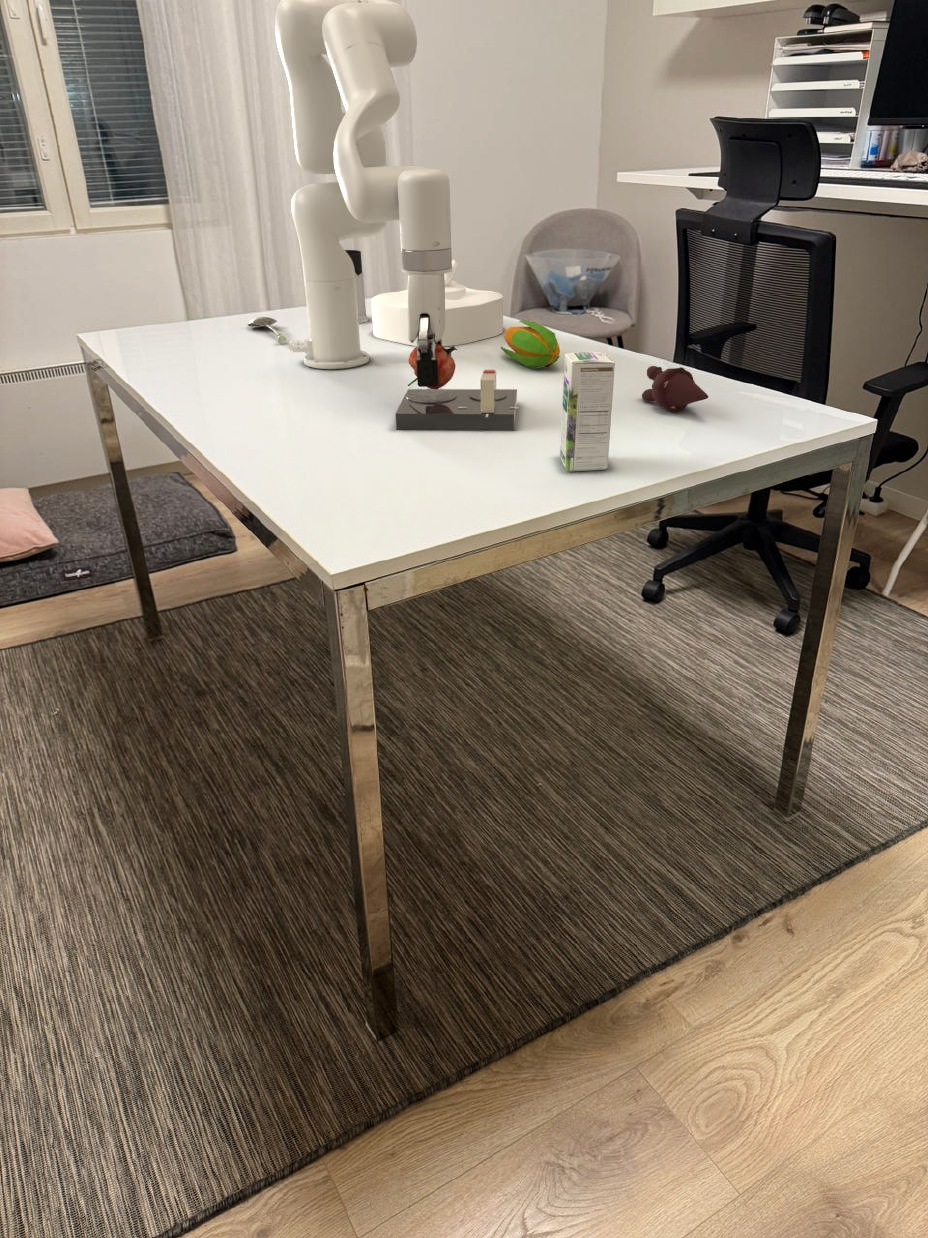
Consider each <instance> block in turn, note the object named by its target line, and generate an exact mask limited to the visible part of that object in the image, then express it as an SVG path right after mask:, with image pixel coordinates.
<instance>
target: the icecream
mask: <svg viewBox="0 0 928 1238" xmlns="http://www.w3.org/2000/svg"><path fill="white" fill-rule="evenodd" d="M646 377H647V378H648V379H649V380H652V381H653V382H652V384H651V388H647V389H645V390H644V391H643V392H642V394H641V399H642V400H643V402H646V403H654V402H656V403H657V405H658V406H659V407H660V408H662V409H664V410H667V411H669V412H671V413H676V412H681V411H684V410H685V409H686V408H687V407H688V405H691V404H693V403H697V402H700V401H705V400H707V399H709V395H708V394H707V393H706V392H705V391H704V390H703V389H702V388H701V387H700V386H699V385H698V384H697V383H696V382H695V380H694V377H693V374H692V373H691V372H690V371H689V370H687V369H685V368H684V367H683V366H682V367H681V366H680V367H673V368H666V369H665V370H663V368H662V366H657V365H651V366H648V368H646Z"/></svg>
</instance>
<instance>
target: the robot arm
mask: <svg viewBox="0 0 928 1238" xmlns="http://www.w3.org/2000/svg"><path fill="white" fill-rule="evenodd" d="M274 16H275V17H274V31H275V40H276V45H277V50H278V52H279V55H280V56H279V57H280V58H281V62H282V65H283V67H284V70H285V74H286V77H287V81H288V86H289V93H290V95H289V96H290V107H291V117H292V119H291V120H292V130H293V141H294V151H295V155H296V160H297V163H298V165H299V167H300V169H301V170H302V171H304V172H306V173H308V174H311V175H336V178H337V181H330V182H329V181H327V182H316V183H315V182H314V183H309V184H306V185H304V186H301V187H300V188H299V189H296V191H295V192H294V194H293V196H292V198H291V205H290V206H291V207H290V208H291V214H292V220H293V224H294V227H295V232H296V236H297V239H298V244H299V249H300V256H301V265H302V274H303V284H304V293H305V302H306V313H307V322H308V334H309V337H308V338H305V340H289V341H288V348H289V351H290V352H292V353H304V354H306V355H305V356H304V357H303V364H304V365H305V366H307V367H309V368H313V369H318V370H319V369H321V370H341V369H342V370H343V369H351V368H356V367H360V366H362V365H365V364H367V363H368V362H369V361H370V355H369V354H370V353H368V352H366V351H365V350H362V349H361V338H360V325H359V324H360V323H359V322H358V309H357V295H356V282H355V270H354V265H353V262H352V260H351V258H350V256H349V255H348V254H347V252H346V251H345V250H346V249H345V248H344V247H343V246H342V245H341V243H340V241H342V240H343V241H344V240H351V239H360V238H370V237H371V238H372V237H376V236H378V235H380V234H382V233H383V232H384V230H385V229H386V227H387V223H388V222H398V221H399V238H400V239H399V240H400V262H401V273H402V274H405V275H407V290H408V292H407V300H408V340H409V341H410V342H411V343H413V342H414V340H416V338H417V346H416V347H417V360H416V362H417V376H416V378H417V381H416V382H417V386H418V387H420V388H422V387H423V388H427V387H437V386H438V360H436V344H439V345H441V346H442V335H443V333H444V330H445V279H444V273H448V272H451V271H452V260H453V259H452V225H451V224H452V223H451V221H452V220H451V187H450V186H451V185H450V178H449V175H448V173H447V172H446V171H444V170H443V169H439V168H428V167H427V166H423V165H416V164H415V165H388V166H387V153H386V152H387V151H386V142H385V137H384V132H383V130H382V127H381V126H382V125H384V124H385V123H387V122H388V121H389V120H391V118H393V116H394V115H395V114H396V112H397V111H398V109H399V107H400V103H401V102H400V101H401V98H400V92H399V89H398V87H397V83H396V81H395V77H394V74H393V71H392V68H405V67H407V66H409V65H410V64H411V63H412V62H413V61H414V58H415V57H416V54H417V46H418V36H417V31H416V26H415V24H414V20H413V19H412V16H411V15H410V13H409V12H408V10H407V9H406V7H404V6H403V5H401V4H399V3H397V2H395V1H392V0H279V2H278V4H277V6H276V11H275V15H274ZM324 55H327V56H328V59H329V62H330V63H329V62H328V60H327V59H326V57H324ZM342 103H343V106H344V109H345V112H343V109H342ZM417 336H418V337H417ZM430 345H432V347H431V346H430ZM431 349H432V350H431ZM431 351H432V352H431Z"/></svg>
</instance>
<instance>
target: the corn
mask: <svg viewBox="0 0 928 1238" xmlns="http://www.w3.org/2000/svg"><path fill="white" fill-rule="evenodd" d="M518 322H519V323H522V324H523V325H525V326H510V327H509V328H507V329H506V330H505V331H504V336H503V337H504V340H505V342H506V344H507V345H508V347H509V348H510V349H511V350H510V349H507V348H505V347H503V346H500V350H501V351H503V353H505V354H506V355H507V357H509V358H511V359H512V360H514V361H515V362H517V363H519V364H521V365H522V366H525V367H527V368H530V369H532V370H536V369H540V368H542V367H543V368H549V367H551V366H552V365H554V364H555V363H557V362H558V360H559V358H561V357H560V353H561V349H560V345H559V341H558V338H557V337H556V333H555V332H553V330H550V329H549V328H547V326H544V325H543V324H540V323H538V322H534V321H529V320H522V319H521V320H519V321H518ZM512 350H513V351H512Z"/></svg>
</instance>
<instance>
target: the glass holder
mask: <svg viewBox="0 0 928 1238" xmlns="http://www.w3.org/2000/svg"><path fill="white" fill-rule="evenodd" d="M344 250H345V251H346V252H347V254H348V255H349V256H350V258H351V260H352V262H353V265H354V270H355V282H356V295H357V309H358V322H359V324H364V323H367V322H369V317H368V316H367V310H366V294H365V279H364V273H363V261H362V251H361V250H357V249H344Z"/></svg>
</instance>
